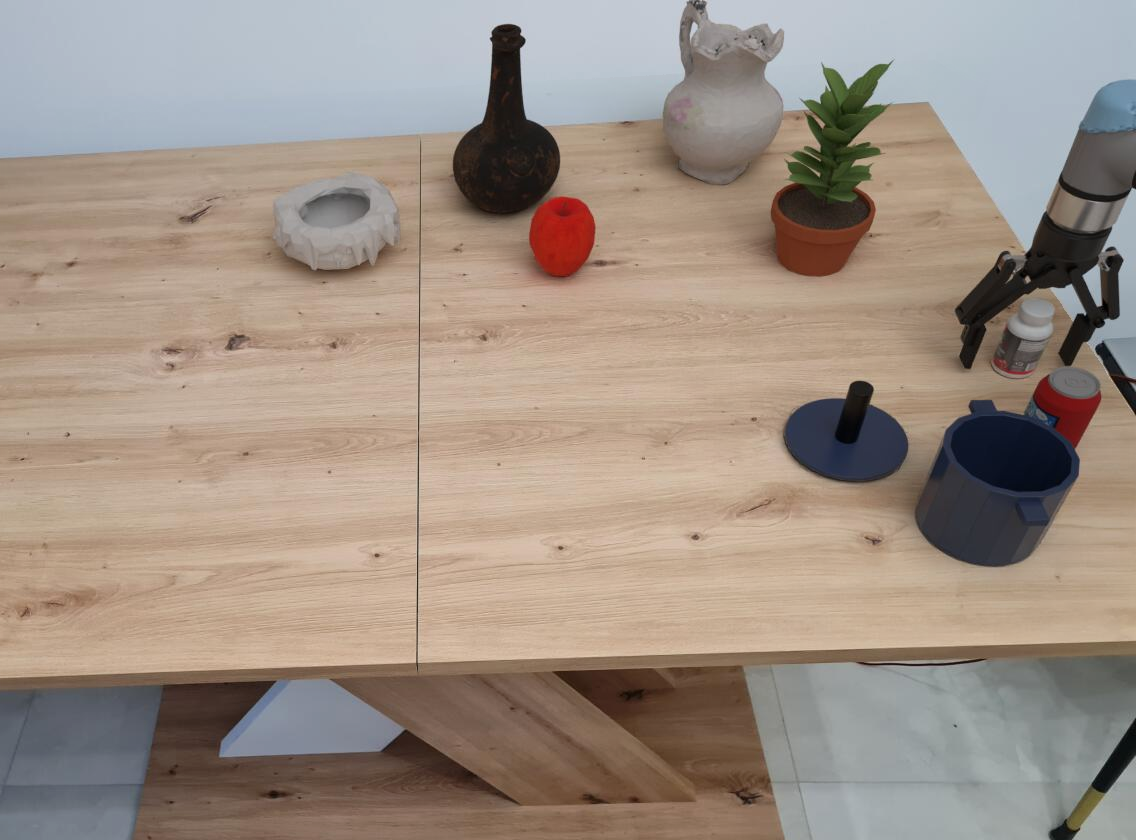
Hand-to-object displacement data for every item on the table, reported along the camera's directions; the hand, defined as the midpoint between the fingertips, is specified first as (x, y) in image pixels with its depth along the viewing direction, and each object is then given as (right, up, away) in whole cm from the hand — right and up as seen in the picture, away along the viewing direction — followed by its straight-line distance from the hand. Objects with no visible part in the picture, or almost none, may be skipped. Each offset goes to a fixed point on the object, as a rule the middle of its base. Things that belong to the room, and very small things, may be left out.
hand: (1014, 361), depth 140 cm
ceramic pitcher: (-29, +41, +41) cm, 65 cm away
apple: (-58, +18, +23) cm, 64 cm away
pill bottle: (0, -1, +1) cm, 1 cm away
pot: (-14, -22, -17) cm, 31 cm away
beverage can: (-3, -14, -10) cm, 17 cm away
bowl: (-92, +22, +30) cm, 100 cm away
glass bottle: (-65, +34, +38) cm, 82 cm away
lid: (-25, -11, -7) cm, 29 cm away
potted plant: (-20, +19, +20) cm, 34 cm away
